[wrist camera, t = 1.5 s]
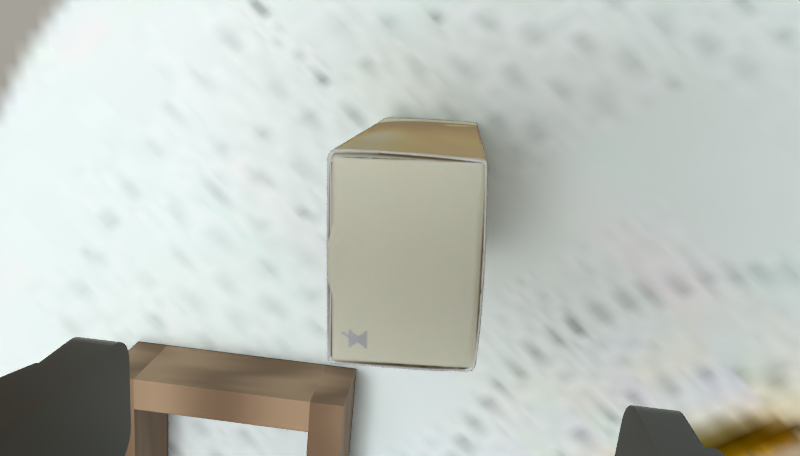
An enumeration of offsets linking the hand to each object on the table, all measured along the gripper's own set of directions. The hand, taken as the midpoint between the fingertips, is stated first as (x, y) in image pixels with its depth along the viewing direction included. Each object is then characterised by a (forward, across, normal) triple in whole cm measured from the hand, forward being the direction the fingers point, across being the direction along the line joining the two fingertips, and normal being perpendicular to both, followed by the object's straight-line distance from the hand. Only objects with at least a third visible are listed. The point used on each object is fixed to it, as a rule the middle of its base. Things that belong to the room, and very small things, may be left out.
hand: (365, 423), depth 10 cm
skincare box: (+20, 0, 0) cm, 20 cm away
